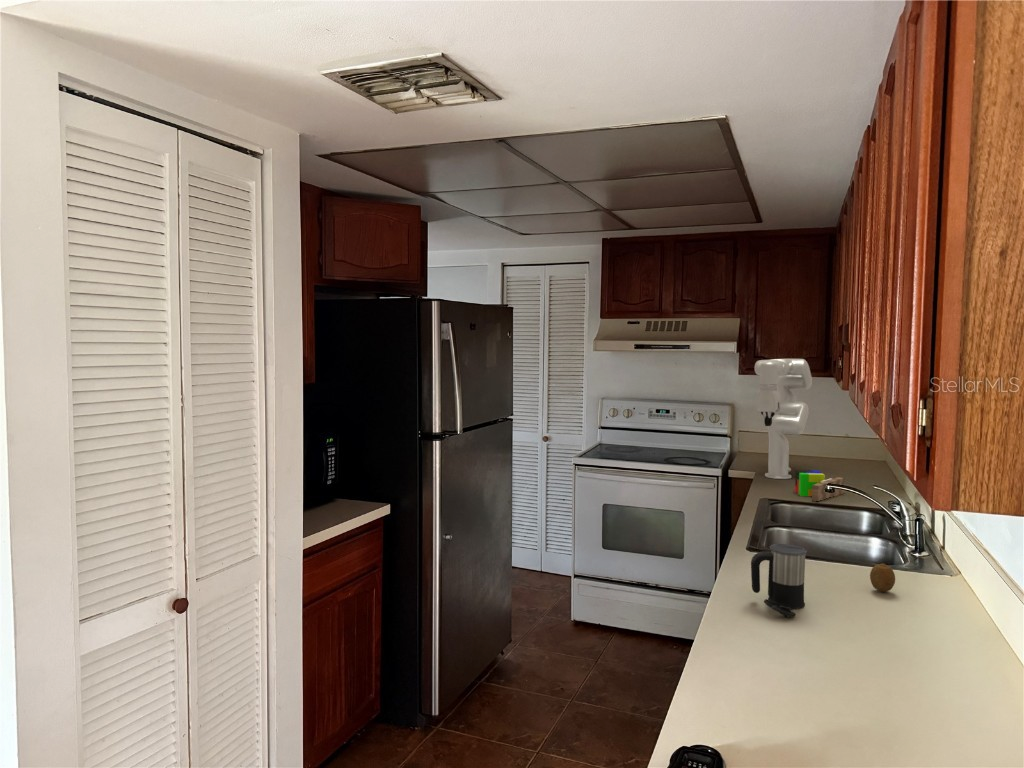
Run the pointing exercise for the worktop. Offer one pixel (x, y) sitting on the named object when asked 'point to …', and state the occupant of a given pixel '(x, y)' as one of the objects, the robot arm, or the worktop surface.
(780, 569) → the milk frother
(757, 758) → the worktop surface
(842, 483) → the wooden notched board
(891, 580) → the fruit
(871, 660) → the worktop surface
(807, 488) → the puzzle toy
